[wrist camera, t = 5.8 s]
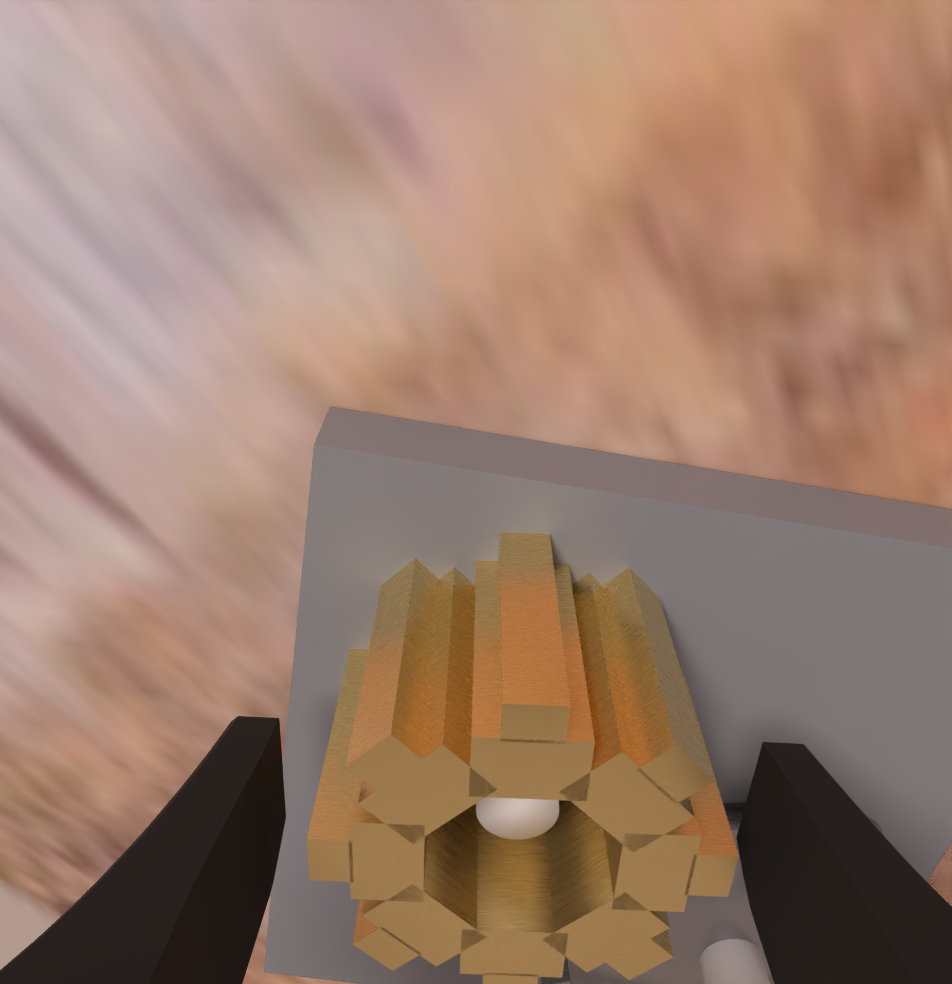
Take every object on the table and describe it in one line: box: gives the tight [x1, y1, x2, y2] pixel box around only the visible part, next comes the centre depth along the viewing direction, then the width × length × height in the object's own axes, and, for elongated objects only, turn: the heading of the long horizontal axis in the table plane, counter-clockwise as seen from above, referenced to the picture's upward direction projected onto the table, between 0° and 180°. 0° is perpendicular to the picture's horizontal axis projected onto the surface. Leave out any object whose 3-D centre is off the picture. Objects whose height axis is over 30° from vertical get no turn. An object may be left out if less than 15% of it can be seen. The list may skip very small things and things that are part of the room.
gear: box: [541, 803, 885, 984], centre depth 18 cm, size 8×8×1 cm
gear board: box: [264, 407, 952, 984], centre depth 16 cm, size 13×13×4 cm
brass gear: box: [307, 532, 739, 984], centre depth 13 cm, size 6×6×4 cm
